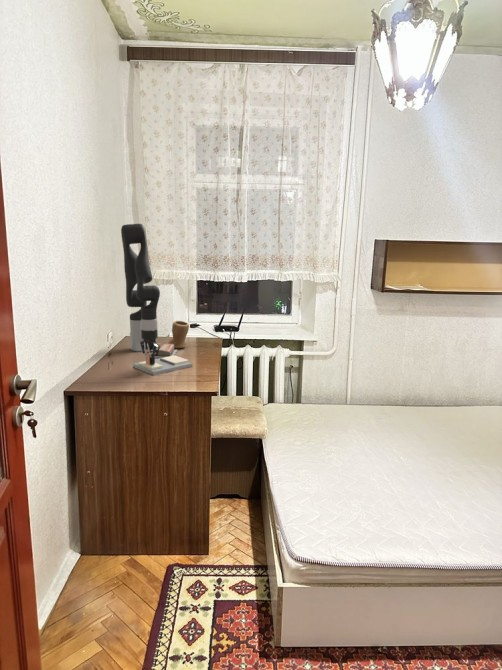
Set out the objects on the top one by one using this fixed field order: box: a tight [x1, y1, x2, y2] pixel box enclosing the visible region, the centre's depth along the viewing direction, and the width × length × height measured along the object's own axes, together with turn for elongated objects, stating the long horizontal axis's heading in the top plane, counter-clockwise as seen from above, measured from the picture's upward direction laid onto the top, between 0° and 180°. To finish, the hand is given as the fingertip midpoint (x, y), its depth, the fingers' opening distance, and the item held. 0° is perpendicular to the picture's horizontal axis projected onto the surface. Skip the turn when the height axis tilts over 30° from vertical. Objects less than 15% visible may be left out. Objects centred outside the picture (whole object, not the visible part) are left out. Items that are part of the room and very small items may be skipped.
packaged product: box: [155, 343, 178, 359], centre depth 237 cm, size 18×5×10 cm
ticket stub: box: [137, 353, 163, 370], centre depth 210 cm, size 12×6×6 cm, turn 45°
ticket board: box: [132, 354, 193, 376], centre depth 215 cm, size 18×22×2 cm
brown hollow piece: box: [167, 320, 190, 349], centre depth 255 cm, size 15×12×15 cm
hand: (150, 363), depth 210 cm, fingers closed on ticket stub, 3 cm apart
